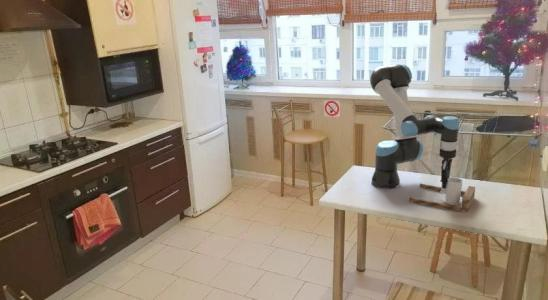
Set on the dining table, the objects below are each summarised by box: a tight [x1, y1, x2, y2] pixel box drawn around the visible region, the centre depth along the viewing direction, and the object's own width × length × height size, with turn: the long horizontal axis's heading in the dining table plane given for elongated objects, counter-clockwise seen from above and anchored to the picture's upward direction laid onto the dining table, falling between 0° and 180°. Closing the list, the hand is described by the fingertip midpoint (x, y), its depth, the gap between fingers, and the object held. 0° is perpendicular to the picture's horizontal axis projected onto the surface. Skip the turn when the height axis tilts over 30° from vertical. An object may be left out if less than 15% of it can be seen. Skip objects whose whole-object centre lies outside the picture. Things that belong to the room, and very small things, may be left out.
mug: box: [445, 176, 464, 206], centre depth 208 cm, size 10×7×12 cm, turn 154°
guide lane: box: [408, 183, 466, 213], centre depth 213 cm, size 24×20×2 cm
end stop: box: [461, 185, 476, 212], centre depth 205 cm, size 3×17×6 cm, turn 147°
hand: (443, 193), depth 211 cm, fingers closed
